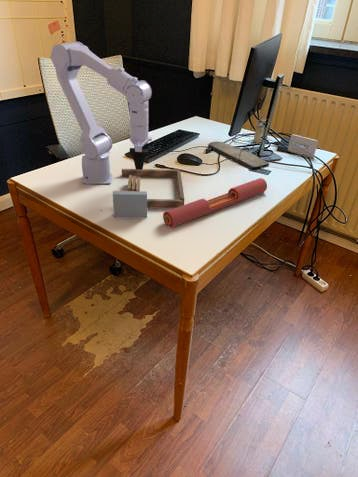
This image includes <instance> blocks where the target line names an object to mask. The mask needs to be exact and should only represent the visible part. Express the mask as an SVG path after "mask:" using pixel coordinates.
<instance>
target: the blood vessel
mask: <svg viewBox="0 0 358 477" xmlns="http://www.w3.org/2000/svg"><path fill="white" fill-rule="evenodd" d="M267 189H268V182H267V181H266V180H265V179H264V178H262V177H258V178H257V179H253V180H251V181H248V182H245V183H242V184H240V185H236V186H234V187H231V188H229V190H228V192H227V193H224V194H222V195H218V196H216V197H212V198H209V199H208V200H207V199H205V198H200V199H197V200H194V201H191V202H188V203H186V204H185V203H184V205H183V206H180V207H177V208H170V209H169V210H166V211H164V212H163V214H162V217H163V218H162V220H163V223H164V224H165V225H166V226H167V227H168V228H174V227H176V226H179V225H181V224H183V223H187V222H189V221H191V220H194V219H197V218H199V217H202V216H205V215H207V214H209V213H213V212H215V211H217V210H220V209H223V208H225V207H228V206H231V205H233V204H236V203H239V202H241V201H243V200H246V199H248V198H252V197H253V196H256V195H258V194H262V193H264V192H266V191H267Z"/></svg>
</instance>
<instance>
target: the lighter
mask: <svg viewBox="0 0 358 477" xmlns="http://www.w3.org/2000/svg"><path fill="white" fill-rule="evenodd" d="M266 120H267V119H266V118H263V119H259V120H258V123H257V124H256V126H255V130H254V131H255V132H254V137H253V142H254V143H262V142H261V137H262V134H263V130H264V123H266V122H265V121H266ZM260 121H261V122H260Z"/></svg>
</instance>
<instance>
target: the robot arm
mask: <svg viewBox="0 0 358 477" xmlns="http://www.w3.org/2000/svg"><path fill="white" fill-rule="evenodd" d="M49 58H50V60H51V63H52V64H53V67H54V70H55V74H56V78H57V80H58V83H59V85H60V87H61V89H62V91H63V93H64V96H65V98H66V100H67V102H68V104H69V106H70V109H71V110H72V113H73V115H74V116H75V119H76V121H77V123H78V125H79V128H80V130H81V135H80V138H79V142H80V144H81V149H82V152H83V154H84V155H82V158H81V170H82V171H81V172H82V178H83V184H88V185H92V184H93V185H94V184H95V185H97V184H98V185H111V184H112V178H113V173H111V168H110V166H111V165H110V151H111V149H112V147H113V141H112V139H111V137H110V136H109V135H108V134H107V132H106V130H105V129H104V128H103V127H101V126H99V125H98V123H97V121H96V119H95V117H94V114H93V112H92V110H91V107H90V105H89V103H88V101H87V98H86V97H85V94H84V92H83V90H82V88H81V86H80V83H79V81H78V80H77V78H78V77H77V76H78V74H79V72H80V70H81V68H82V67H83V66H85V67H87V68H88V69H90V70H91V71H93V72H95V73H97V74H99V75H100V76H102V77H104V79H106V81H107V84H108V85H109V86H110V87H111V88H113V89H115V90H116V91H117V92H118V93H120V94H121V95H123V96H125V99H126V101H127V102H128V108H129V133H130V136H129V141H130V142H131V144H132V145H133V146H134V147H129V154H130V155H131V157H132V159H133V163H134V169H136V170H142V169H144V164H145V160H146V159H145V158H146V156H147V154H148V152H149V149H146V148H147V145H148V143H149V142H152V141H153V137H152V136H149V100H150V99H151V98H152V95H153V94H152V93H153V91H152V87H151V85H150V84H149V83H148V82H147V81H146V80H138V77H136V76H132V75H130V74H129V73H127V72H126V71H125V68H123V67H122V66H121V67H118V66H114V67H112V66H111V65H109V64H108V63H107V62H105V61H104V60H102V59H101V58H100V57H99V56H97V55H96V54H95V53H93V52H92V50H90V49H89V47H88V46H87V45H84V43H82V42H80V41H77V40H76V41H73V42H67V43H56V44H55V45H53V46H52V49H51V52H50V57H49Z"/></svg>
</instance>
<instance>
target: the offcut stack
mask: <svg viewBox="0 0 358 477" xmlns="http://www.w3.org/2000/svg"><path fill="white" fill-rule="evenodd" d="M127 180H128V182H127V187H126V188H127V191H141V177H136V176H132V175H129V176H128V179H127Z"/></svg>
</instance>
